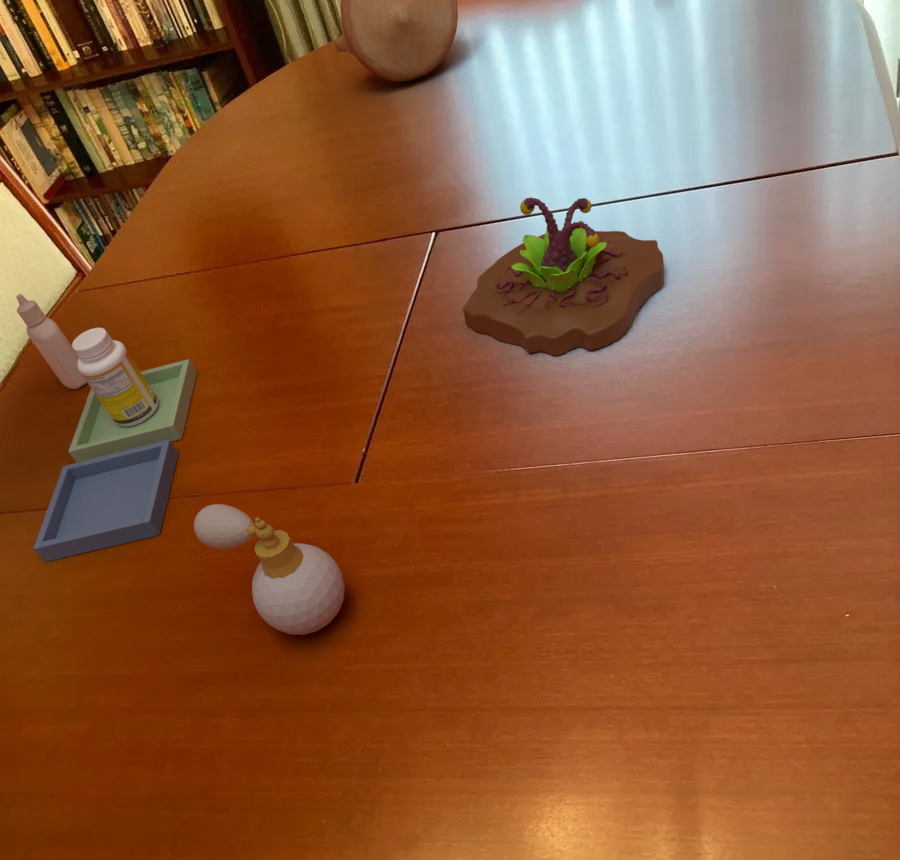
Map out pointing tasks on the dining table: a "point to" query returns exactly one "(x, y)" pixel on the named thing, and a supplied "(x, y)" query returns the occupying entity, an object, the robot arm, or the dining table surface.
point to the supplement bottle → (114, 377)
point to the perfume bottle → (279, 570)
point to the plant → (565, 286)
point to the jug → (398, 35)
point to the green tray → (165, 423)
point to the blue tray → (108, 501)
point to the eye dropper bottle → (51, 343)
